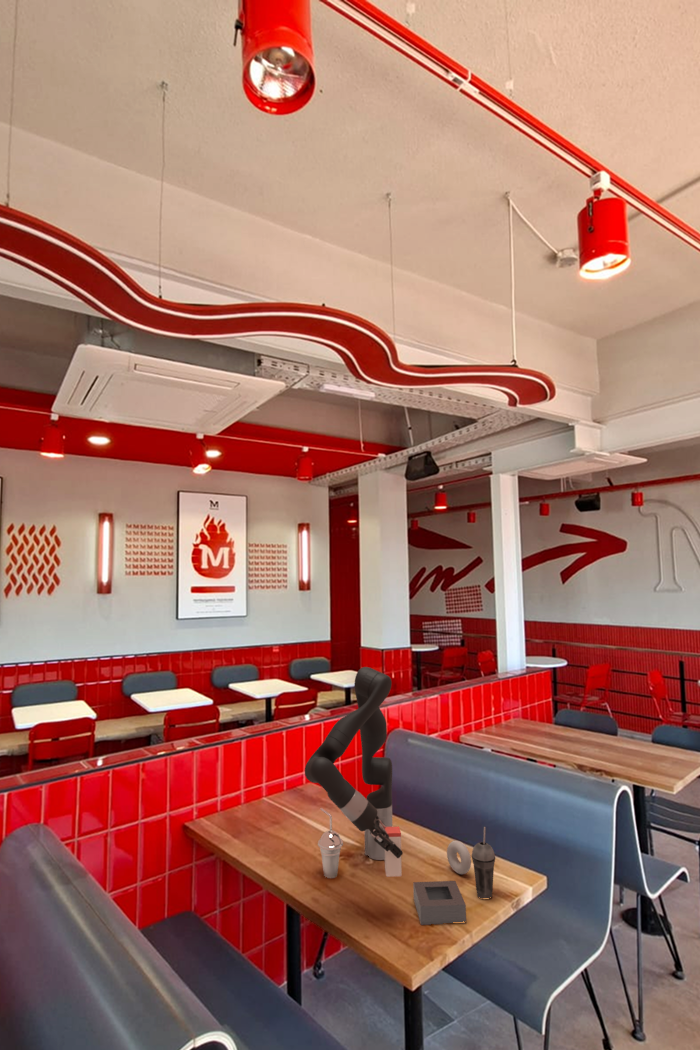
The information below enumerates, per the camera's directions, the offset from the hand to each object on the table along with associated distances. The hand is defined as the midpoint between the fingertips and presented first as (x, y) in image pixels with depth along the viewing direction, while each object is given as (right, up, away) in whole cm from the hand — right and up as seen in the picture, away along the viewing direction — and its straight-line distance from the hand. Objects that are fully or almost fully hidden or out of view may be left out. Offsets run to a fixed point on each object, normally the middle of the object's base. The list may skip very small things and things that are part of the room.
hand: (399, 851), depth 168 cm
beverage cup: (+27, -19, +8) cm, 34 cm away
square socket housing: (+12, -18, 0) cm, 21 cm away
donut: (+22, -20, +22) cm, 37 cm away
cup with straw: (-21, -20, +22) cm, 36 cm away
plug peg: (-2, -6, -1) cm, 6 cm away
